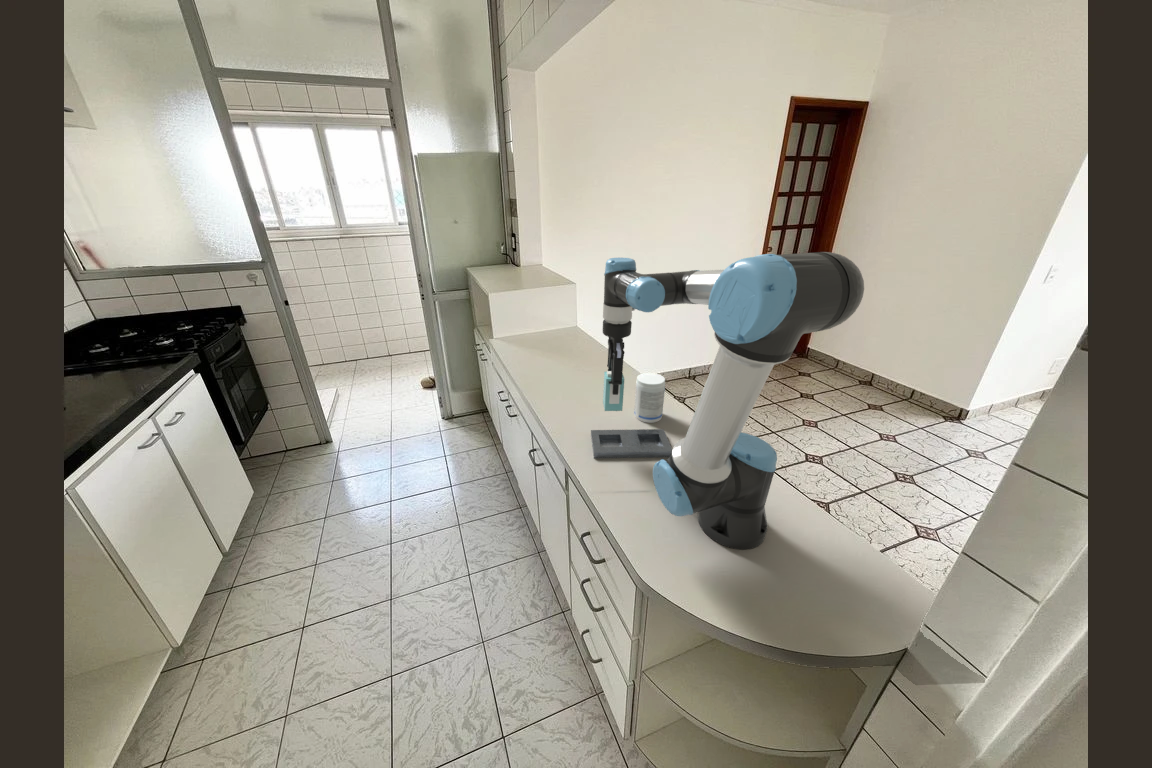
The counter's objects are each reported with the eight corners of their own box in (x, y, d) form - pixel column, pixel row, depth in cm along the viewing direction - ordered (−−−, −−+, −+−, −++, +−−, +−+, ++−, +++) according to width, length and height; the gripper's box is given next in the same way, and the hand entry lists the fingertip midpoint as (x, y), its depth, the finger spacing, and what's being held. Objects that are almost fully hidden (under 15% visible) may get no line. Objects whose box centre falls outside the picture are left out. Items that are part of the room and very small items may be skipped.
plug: (622, 410, 116) (624, 376, 112) (604, 410, 116) (606, 376, 111) (619, 402, 121) (622, 368, 116) (602, 402, 121) (604, 368, 116)
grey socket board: (672, 458, 120) (673, 451, 119) (593, 459, 119) (593, 452, 118) (662, 435, 131) (663, 429, 130) (590, 436, 130) (590, 430, 129)
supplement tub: (667, 419, 140) (672, 380, 134) (646, 427, 135) (650, 387, 129) (648, 407, 147) (651, 370, 141) (627, 414, 143) (630, 376, 136)
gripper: (637, 331, 99) (630, 414, 109) (626, 310, 115) (621, 384, 126) (606, 331, 99) (602, 414, 109) (599, 310, 115) (597, 384, 125)
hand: (612, 398), depth 117 cm, fingers closed on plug, 5 cm apart
